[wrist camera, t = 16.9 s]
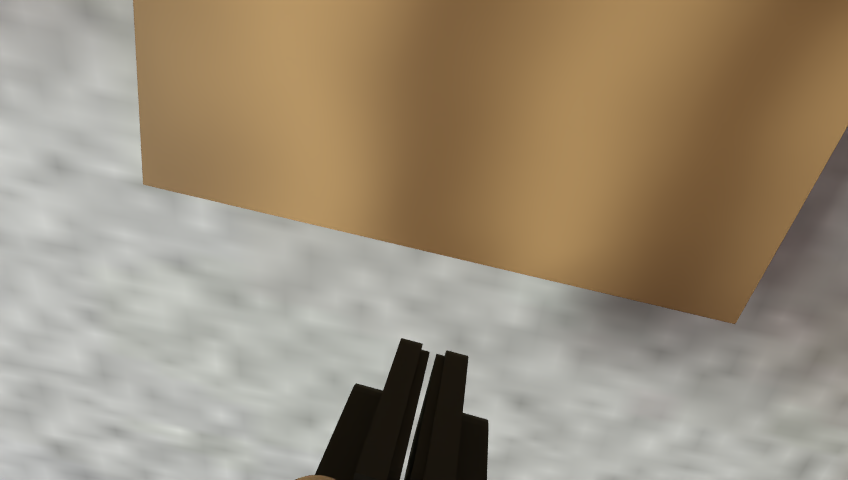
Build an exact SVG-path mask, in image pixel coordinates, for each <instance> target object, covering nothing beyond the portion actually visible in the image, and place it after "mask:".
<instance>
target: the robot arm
mask: <svg viewBox="0 0 848 480" xmlns="http://www.w3.org/2000/svg"><path fill="white" fill-rule="evenodd" d="M422 345H423V344H421V343H418V342H414V341H410V340H407V339H403V338H401V341H400V343H399V346H398V349H397V352H396V355H395V358H394V361H393V364H392V367H391V369H390V372H389V375H388V378H387V381H386V384H385V387H384V390H383V391H382V390H378V389H375V388H371V387H367V386H364V385H360V384H357V383H356V384H355V385H354V387H353V389H352V391H351V394H350V396H349V398H348V401H347V403H346V405H345V407H344V410H343V412H342V414H341V417H340V419H339V421H338V423H337V426H336V428H335V430H334V432H333V435H332V437H331V439H330V442H329V444H328V446H327V448H326V451H325V453H324V455H323V458H322V460H321V462H320V464H319V467H318V469H317V471H316V474H315V475H309V476H305V477H301V478H298V479H296V480H400V476H401V472H402V468H403V464H404V459H405V455H406V451H407V447H408V442H409V438H410V434H411V430H412V425H413V421H414V417H415V413H416V408H417V404H418V400H419V396H420V391H421V387H422V383H423V379H424V374H425V370H426V366H427V362H428V357H429V353H430V352H428V351H424V350H421V349H422ZM467 366H468V356H466V355H462V354H458V353H455V352H451V351H446V353H445V356H443V355H439V354H436V358H435V361H434V365H433V369H432V372H431V376H430V380H429V383H428V387H427V391H426V395H425V398H424V402H423V406H422V409H421V413H420V417H419V420H418V424H417V428H416V432H415V435H414V439H413V443H412V447H411V452H410V456H409V460H408V465H407V469H406V474H405V478H404V480H487V458H488V420H487V419H483V418H479V417H476V416H472V415H469V414H465V413H463V404H464V394H465V385H466V375H467Z"/></svg>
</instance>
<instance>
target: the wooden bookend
mask: <svg viewBox="0 0 848 480" xmlns="http://www.w3.org/2000/svg"><path fill="white" fill-rule="evenodd" d="M133 6H134V25H135V43H136V61H137V80H138V98H139V117H140V135H141V153H142V172H143V184H144V185H148V186H152V187H156V188H160V189H165V190H169V191H173V192H177V193H182V194H186V195H190V196H194V197H199V198H203V199H207V200H211V201H216V202H220V203H224V204H228V205H233V206H237V207H241V208H245V209H249V210H254V211H258V212H262V213H266V214H271V215H275V216H279V217H283V218H288V219H292V220H296V221H300V222H305V223H309V224H313V225H317V226H322V227H326V228H330V229H334V230H338V231H343V232H347V233H351V234H355V235H360V236H364V237H368V238H372V239H377V240H381V241H385V242H389V243H394V244H398V245H402V246H406V247H411V248H415V249H419V250H423V251H427V252H432V253H436V254H440V255H444V256H449V257H453V258H457V259H461V260H466V261H470V262H474V263H478V264H483V265H487V266H491V267H495V268H500V269H504V270H508V271H512V272H516V273H521V274H525V275H529V276H533V277H538V278H542V279H546V280H550V281H555V282H559V283H563V284H567V285H572V286H576V287H580V288H584V289H589V290H593V291H597V292H601V293H605V294H610V295H614V296H618V297H622V298H627V299H631V300H635V301H639V302H644V303H648V304H652V305H656V306H661V307H665V308H669V309H673V310H678V311H682V312H686V313H690V314H694V315H699V316H703V317H707V318H711V319H716V320H720V321H724V322H728V323H733V324H735V323H736V322H737V320H738V318H739V316H740V315H741V313H742V311H743V309H744V308H745V306H746V304H747V302H748V301H749V299H750V297H751V295H752V293H753V292H754V290H755V288H756V286H757V285H758V283H759V281H760V279H761V278H762V276H763V274H764V272H765V271H766V269H767V267H768V265H769V264H770V262H771V260H772V258H773V256H774V255H775V253H776V251H777V249H778V248H779V246H780V244H781V242H782V241H783V239H784V237H785V235H786V234H787V232H788V230H789V228H790V227H791V225H792V223H793V221H794V220H795V218H796V216H797V214H798V212H799V211H800V209H801V207H802V205H803V204H804V202H805V200H806V198H807V197H808V195H809V193H810V191H811V190H812V188H813V186H814V184H815V183H816V181H817V179H818V177H819V175H820V174H821V172H822V170H823V168H824V167H825V165H826V163H827V161H828V160H829V158H830V156H831V154H832V153H833V151H834V149H835V147H836V146H837V144H838V142H839V140H840V139H841V137H842V135H843V133H844V131H845V130H846V128H847V126H848V0H133Z"/></svg>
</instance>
